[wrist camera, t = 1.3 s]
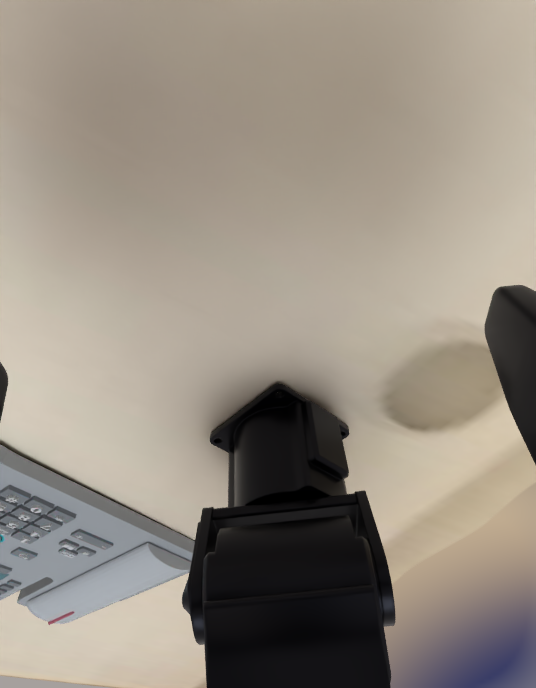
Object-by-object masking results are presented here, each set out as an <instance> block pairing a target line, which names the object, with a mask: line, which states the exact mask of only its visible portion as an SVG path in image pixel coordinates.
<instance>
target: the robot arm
mask: <svg viewBox="0 0 536 688" xmlns="http://www.w3.org/2000/svg"><path fill="white" fill-rule="evenodd" d="M485 336H486V340H487V343H488V346H489V349H490V352H491V355H492V358H493V361H494V364H495V367H496V370H497V373H498V376H499V379H500V382H501V385H502V388H503V391H504V394H505V397H506V400H507V403H508V406H509V408H510V411H511V413H512V415H513V418H514V420H515V422H516V424H517V426H518V429H519V431H520V433H521V435H522V437H523V439H524V441H525V443H526V445H527V448H528V450H529V452H530V454H531V456H532V458H533V460H534V462H535V464H536V291H534V290H532V289H530V288H528V287H526V286H523V285H513V286H503V287H499V288H497V289H496V290H495V292H494V294H493V296H492V300H491V304H490V307H489V311H488V315H487V318H486V322H485ZM7 386H8V376H7V373H6V370H5V369H4V367H3V365H2V364H1V362H0V421H1V416H2V411H3V406H4V401H5V396H6V391H7ZM277 392H281V393H277ZM348 435H349V429H348V426H347V425H346V424H344V423H343V422H341V421H339V420H338V419H337V417H335V416H334V415H332V414H330V413H329V412H327V411H326V410H324V409H323V408H321V407H320V406H318V405H317V404H315V403H314V402H312V401H309V400H307V399H306V398H304V397H302V396H301V395H299V394H298V393H296V392H295V391H293V390H292V389H290V388H289V387H287V386H286V385H283V384H275V385H273V386H272V387H271V388H269V389H268V390H267V391H265V392H264V393H263V394H262V395H260V396H259V397H258V398H256V399H255V400H254V401H252V402H251V403H250V404H248V405H247V406H246V407H245V408H243V409H242V410H241V411H239V412H238V413H237V414H235V415H234V416H233V417H232V418H230V419H229V420H228V421H226V422H225V423H224V424H222V425H221V426H220V427H218V428H217V429H216V430H215V431H213V432H212V433H211V434H210V442H211V444H213V445H215V446H217V447H218V448H220V449H222V450H224V451H226V452H228V453H229V482H228V507H226V508H217V509H214V508H213V507H210V508H203V510H202V516H201V522H199V523H198V527H197V533H196V539H195V544H194V550H193V556H192V561H191V567H190V572H189V578H188V581H187V583H186V586H185V589H184V592H183V596H182V604H183V607H184V609H185V610H186V611H187V612H188V613H189V614H190V616H191V621H192V627H193V632H194V636H195V639H196V642H197V643H198V644H199V645H203V644H205V661H206V681H207V688H390V681H391V670H390V664H389V658H388V652H387V646H386V639H385V633H384V626H394V624H395V606H394V597H393V590H392V584H391V578H390V573H389V569H388V564H387V560H386V556H385V553H384V549H383V546H382V543H381V539H380V536H379V533H378V530H377V527H376V524H375V520H374V517H373V514H372V511H371V508H370V504H369V501H368V498H367V495H366V492H365V491H357V492H355V494H347V491H346V486H345V481H344V478H346V477H348V473H349V470H348V465H347V460H346V456H345V451H344V446H343V441H342V440H343V439H344V438H346V437H347V436H348Z"/></svg>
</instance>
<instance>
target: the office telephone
mask: <svg viewBox="0 0 536 688" xmlns="http://www.w3.org/2000/svg"><path fill="white" fill-rule="evenodd" d="M194 544H195V541H193V540H191V539H189V538H187V537H185V536H183V535H181V534H179V533H177V532H175V531H173V530H171V529H169V528H167V527H165V526H163V525H160V524H158V523H156V522H154V521H152V520H150V519H148V518H146V517H144V516H142V515H140V514H138V513H136V512H134V511H132V510H130V509H128V508H126V507H124V506H122V505H120V504H117V503H115V502H113V501H111V500H109V499H107V498H105V497H103V496H101V495H99V494H97V493H95V492H93V491H91V490H89V489H87V488H85V487H83V486H81V485H79V484H76V483H74V482H72V481H70V480H68V479H66V478H64V477H62V476H60V475H58V474H56V473H54V472H52V471H50V470H48V469H46V468H44V467H42V466H40V465H38V464H36V463H34V462H32V461H30V460H28V459H26V458H24V457H22V456H20V455H18V454H16V453H14V452H12V451H10V450H9V449H7V448H6V447H4V446H2V445H0V600H2V599H4V598H6V597H8V596H10V595H11V594H13V593H15V592H17V591H19V590H21V591H20V594H19V597H18V600H17V603H18V604H21V605H24V606H27V607H28V609H29V610H30V611H31V612H32V613H33V614H34V615H35V616H37V617H38V618H40V619H42V620H45V621H48V624H49V625H50V624H52V623H60V624H63V623H68V622H71V621H73V620H75V619H78V618H80V617H82V616H85V615H87V614H89V613H91V612H94V611H96V610H99V609H101V608H104V607H106V606H109V605H111V604H113V603H115V602H118V601H122V600H124V599H127V598H129V597H132V596H134V595H137V594H139V593H141V592H144V591H146V590H149V589H151V588H153V587H156V586H158V585H161V584H163V583H165V582H168V581H170V580H173V579H175V578H177V577H180V576H182V575H185V574H187V573H189V572H190V567H191V561H192V556H193V550H194Z"/></svg>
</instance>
